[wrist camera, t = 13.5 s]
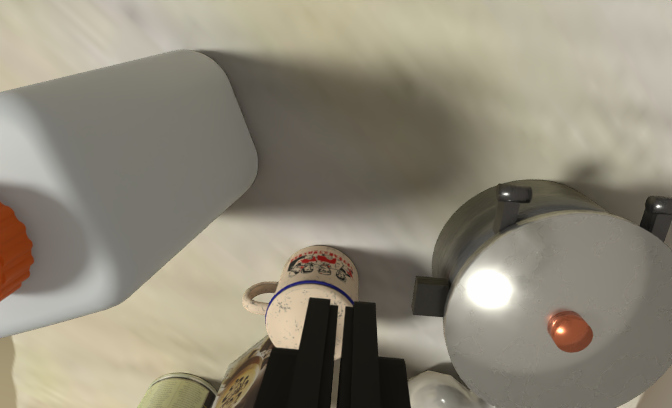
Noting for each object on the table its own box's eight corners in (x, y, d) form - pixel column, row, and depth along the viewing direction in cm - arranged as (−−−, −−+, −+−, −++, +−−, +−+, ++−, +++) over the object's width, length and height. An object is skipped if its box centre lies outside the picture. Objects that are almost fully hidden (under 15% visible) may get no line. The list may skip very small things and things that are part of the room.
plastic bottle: (78, 87, 45) (-326, 151, 18) (216, 37, 42) (-22, 28, 16) (145, 221, 49) (-102, 427, 23) (272, 183, 47) (159, 362, 21)
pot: (419, 150, 45) (435, 181, 35) (671, 170, 44) (760, 207, 34) (396, 327, 52) (403, 393, 42) (612, 346, 51) (671, 419, 42)
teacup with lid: (364, 246, 49) (365, 305, 38) (356, 317, 52) (355, 390, 41) (255, 235, 49) (225, 291, 38) (254, 306, 52) (225, 376, 41)
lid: (462, 199, 36) (469, 210, 33) (716, 220, 35) (744, 233, 33) (428, 400, 42) (433, 422, 40) (643, 420, 42) (662, 444, 39)
